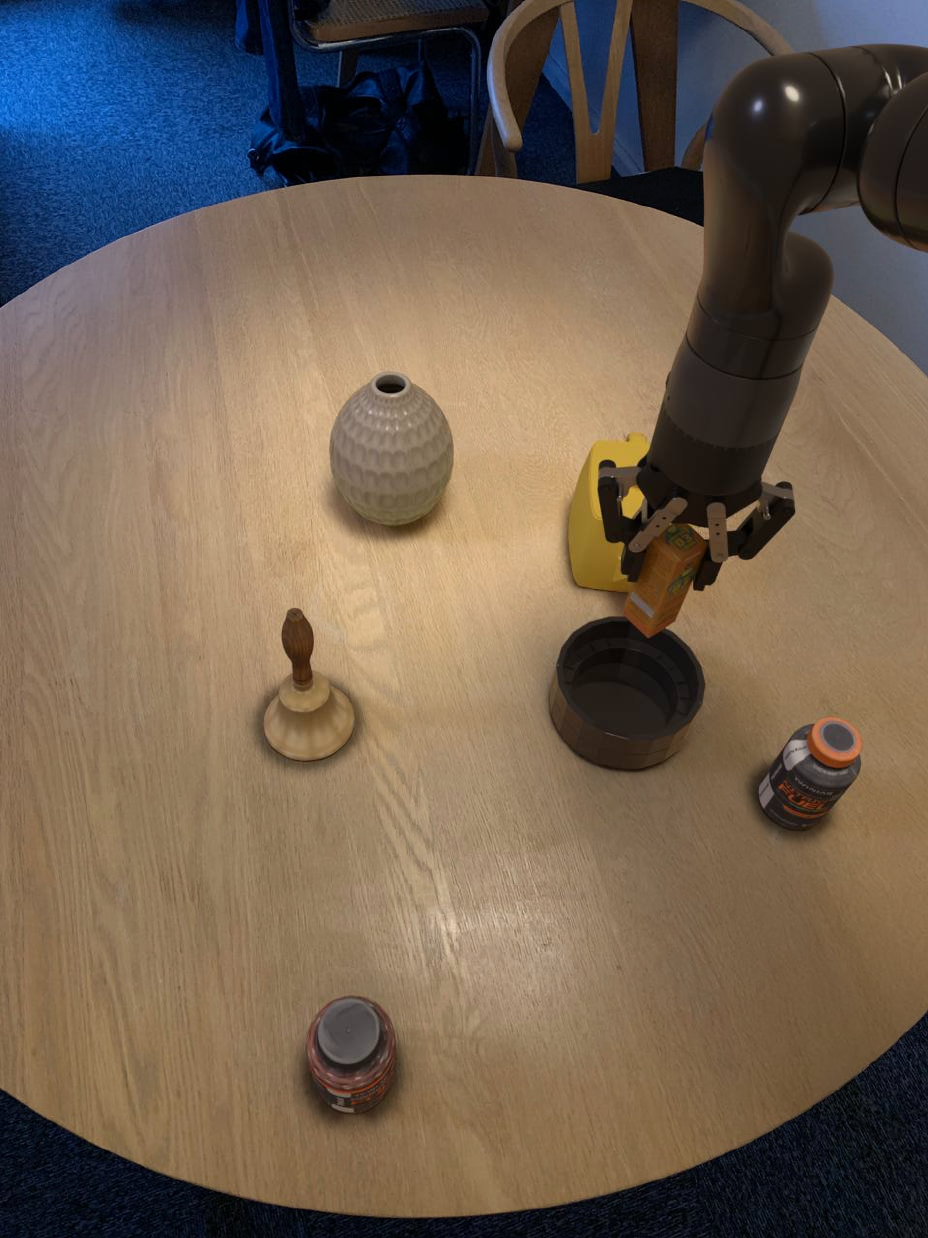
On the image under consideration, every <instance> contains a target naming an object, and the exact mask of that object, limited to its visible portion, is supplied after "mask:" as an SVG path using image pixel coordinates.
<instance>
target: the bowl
mask: <svg viewBox="0 0 928 1238" xmlns="http://www.w3.org/2000/svg"><path fill="white" fill-rule="evenodd" d="M705 691H706V681H705V677H704V672H703V667H702V665H701V663H700V661H699V659H698V658H697V655H695V653H694V651H693V649H692V647H690V646H689V645H688V644H687V643H686V642H685V641H684V640H682V638H680V637H679V635H677V634H676V633H675V632H674V631H672V630H670V629H668V628H667V627H666V628H664V629H663V630H661V631H660V632H658V633H656V634H655V635H653V636H652V637H650V638H647V637H646V636H645V635H644V634H643V633H642V632H641V631H640V630H639V629H638V628H637V627H636V626H635V625H634V624H632V623H631V622H630V620H628V619H627V618H626V617H625V616H624V615H623V616H622V615H621V616H620V615H610V616H606V617H602V618H597V619H594V620H590V621H588V622H586V623H585V624H583V625H581V626H580V627H579V628H577V629H575V630H574V631H572V633H571V634H570V635H569V636H568V637H567V639H566V640H565V641H564V643H563V644H562V645H561V647H560V650H559V653H558V657H557V661H556V663H555V668H554V673H553V677H552V682H551V687H550V691H549V695H548V699H549V708H550V716H551V718H552V719H553V722H554V724H555V726H556V729H557V730H558V733H559V734H560V735H561V737H562V738H563V739H564V740H565V741H566V742H567V743H568V744H569V745H570V746H571V747H572V748H573V749H574V750H575V751H576V752H577V753H578V754H581V755H582V756H585V757H586V758H588V759H590V760H591V761H592V762H593V763H597V764H599V765H603V766H607V767H611V768H615V769H644V768H647V767H651V766H653V765H656V764H660V763H663V762H664V761H666V760H667V759H668V758H670V757H671V756H672V755H674V754H675V753H677V752H678V751H679V750H680V748H681V747H682V745H683V744H684V742H685V740H686V739H687V737H688V735H689V734H690V731H691V730H692V727H693V724H694V723H695V722H696V719H697V716H698V715H699V712H700V711H701V708H702V706H703V704H704V697H705Z"/></svg>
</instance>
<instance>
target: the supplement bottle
mask: <svg viewBox="0 0 928 1238" xmlns="http://www.w3.org/2000/svg"><path fill="white" fill-rule="evenodd" d="M395 1032H396V1031H395V1027H394V1025H393V1023H392V1020H391V1018H390V1016H389V1014H388V1013H387V1011H385V1009H384V1008H383V1007H382V1006H381V1005H380V1004H378V1003H377V1002H376V1001H374V1000H372V999H370V998H368V997H365V996H362V995H357V994H354V995H344V996H340V997H338V998H335V999H332V1000H331V1001H329V1002H327V1003H326V1004H325V1005H324V1006H323V1007H322V1008H320V1009H319V1010H318V1012H317V1013H316V1014H315V1015H314V1017H313V1019H312V1021H311V1022H310V1024H309V1027H308V1031H307V1033H306V1040H305V1055H306V1060H307V1065H308V1067H309V1070H310V1074H311V1076H312V1079H313V1082H314V1085H315V1088H316V1090H317V1092H318V1094H319V1096H320V1097H321V1098H322V1101H323V1102H325V1104H327V1105H328V1106H329V1107H330V1108H332V1109H334V1110H336V1111H338V1112H341V1113H345V1114H352V1115H353V1114H361V1113H364V1112H367V1111H370V1110H371V1109H373V1108H374V1107H376V1106H377V1105H378V1104H380V1103H381V1102H382V1101H383V1100H384V1099H385V1097H386V1096H387V1095H388V1093H389V1092H390V1090H391V1087H392V1086H393V1083H394V1080H395V1076H396V1072H397V1071H396V1068H397V1059H398V1057H397V1045H396V1041H397V1040H396V1034H395Z"/></svg>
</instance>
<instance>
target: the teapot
mask: <svg viewBox="0 0 928 1238" xmlns="http://www.w3.org/2000/svg"><path fill="white" fill-rule="evenodd" d="M650 444H651V443H648V437H647V436H646V435H645V434H644V433H641V432H630V433H628V434H627V436H626V438H625V441H622V440H605V439H598V440H596V441H594V443H592V446H591V448H590V450H589V452H588V455H587V457H586V459H585V461H584V464H583V466H582V467H581V470H580V473H579V476H578V478H577V482H576V486H575V489H574V493H573V497H572V500H571V505H570V511H569V518H568V549H569V558H570V564H571V571H572V576H573V579H574V582H575V583H576V585H578V587H583V588H587V589H591V590H592V589H593V590H600V591H608V592H610V591H611V592H618V593H627V594H629V592H630V589H631V586H632V583H633V582H627V575H622V573H621V554H622V550H623V547H624V543H622V542H618V543H610V542H608V541H607V540H606V538H605V532H604V526H603V521H602V515H601V509H600V503H599V497H598V491H597V487H598V468H599V463H600V462H601V461H603V460H606V459H609V460H612V461H614V462H615V464H616V468H618V467H629V466H637V464H638V462H639V461H640V459H641V458H643V457H644V456H645V455H646V454H647V452H648V451H649V448H650ZM643 499H644V495H643V494H642V492H641V490H640V489H639V487H638V486H637V485H634V486H632V487H631V488H630V489H629V493H628V495H627V496H626V497H624V498H623V501H621V503H622V510H623V515H624V516H626V517H629V518H632V517H633V516H634V514H635V513H636V512H637V511H638V509H639V508H640V507H641V504H642V501H643ZM670 524H671V523H670ZM670 524H669V525H670ZM689 525H690V526H691V527H692V528H693V525H691V524H689Z"/></svg>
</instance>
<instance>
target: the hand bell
mask: <svg viewBox="0 0 928 1238" xmlns="http://www.w3.org/2000/svg"><path fill="white" fill-rule="evenodd" d="M280 634H281V635H280V637H281V643H282V647H283V651H284V653H285V655H286V656H287V658H288V659H289V660H290V662H291V670H292V671H291V673H289V674H288V675H287V676H286V677H285V678H284V679H282V682H281V683H280V685H279V689H278V694H277V695H276V696H275V697H274V698H273V699H272V701H271V702H270V703H269V704H268V706H267V707H266V711H265V713H264V717H263V722H262V723H263V724H262V725H263V733H264V736H265V738H266V741H267V742H268V744H269V745H270V746H271V748H273V749H274V751H276V752H277V753H279V754H281V755H282V756H283V757H286V758H288V759H291V760H296V761H301V762H303V761H305V762H306V761H307V762H308V761H317V760H321V759H324V758H326V757H329V756H331V755H333V754H335V753H336V752H338V751H339V750H340V749H342V747H343V746H344V745H345V744H346V743H347V742H348V741H349V739H350V737H351V735H352V734H353V732H354V727H355V725H356V723H355V722H356V715H355V710H354V707H353V704H352V701H350V699H349V698H348V697H347V696H346V694H345V693H343V692H342V691H341V690H340V689H338V688H336V687H335V686H332V685H330V683H329V681H328V679H327V678H326V676H325V675H323V674H322V673H321V672H319V671H316V670H313V669H312V665H311V658H312V655H313V651H314V648H315V635H314V630H313V627H312V624H311V622H310V621H309V620H308V618H307V617H306V616H305V613H304V612H303V610H301V608H299V607H292V608H289V609H288V610H287V612H286V615H285V619H284V621H283V624H282V627H281V632H280Z"/></svg>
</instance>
